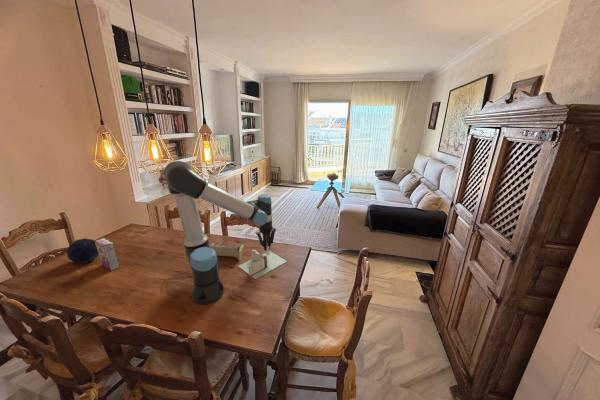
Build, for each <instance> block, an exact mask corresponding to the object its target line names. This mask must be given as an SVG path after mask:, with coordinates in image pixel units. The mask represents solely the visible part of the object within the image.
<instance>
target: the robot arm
mask: <svg viewBox="0 0 600 400" xmlns="http://www.w3.org/2000/svg"><path fill="white" fill-rule="evenodd" d="M163 175H164V178H165V181H166V185H167V188H168V191H169V194H170V195H172V196H174V200H175V203H176V207H177V211H178V215H179V218H180V222H181V226H182V229H183V233H184V236H185V239H184V241H183V245H184V249H185V251H184V253H185V255H186V257H187V259H188V263H189V266H190V268H191V273H192V274H191V275H192V279H193V286H192V289H191V299H192V301H193V302H194V303H195V304H199V305H209V304H212V303H214V302H216V301H218V300H219V299H221V298H222V296H223V295H224V293H225V285H224V283H223V282H222V280H221V278H220V276H219V275H220V274H219V266H218V256H217V255H216V252H215V251H214V250H213V249H212V248H210V245H209V244H210V241H209V237H208V235H207V234H205V233H204V229H203V225H202V222H201V216H200V213H199V208H198V204H197V201H196V200H198V199H201V200H203V201H206V202H207V203H210V204H213V205H214V206H215V207H216V206H217V207H219V208H221V209H223V210H226V211H228V212H230V213H233V214H235V215H237V216H239V217H242V218H243V219H246V220H248V221H250V222H252V223H253V224H254V225H256V226H258V227H259V231H258V232H255V234H256V235H257V238H258V241H259V244H260V245H261V246H262V247H263V250H264V253H265V254H266V255H267V256H268V255H269V251H270V250H271V246H272V244H273V243H274V239H275V234H276V232H277V228H275V227H273V213H272V197H271V195H269V194H267V193H264V194H260V195H258V196H257V199H254V200H250V201H245V200H243V199H241V198H240V197H237V196H235V195H232V194H231V193H229V192H227V191H225V190H223V189H221V188H219V187H217V186H215V185H213V184H211V183H209V182H208V179H206V178H204V177H202V176H201V175H199V174H198V172H196V171H195V170H194V169H193V168H191V166H190V165H189V164H188V163H186V162H184V161H181V160H174V161H170V162H169V163H168V164H167V165H166V166H165V168H164V170H163Z"/></svg>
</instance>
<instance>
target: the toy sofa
mask: <svg viewBox="0 0 600 400" xmlns="http://www.w3.org/2000/svg"><path fill="white" fill-rule="evenodd" d="M209 245H210V248H212V249H213V250H214V251H215V252H216V255H217V257H218V256H220V257H234V258H236V259H237V260H238V261H241V259H242V258H243V257H242V256H244V247H245V246H244V244H243V243H242V244H241V245H240V246H239V245H224V244H223V245H222V244H221V245H220V244H215V243H213V242H212V243H209Z"/></svg>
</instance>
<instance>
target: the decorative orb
mask: <svg viewBox="0 0 600 400" xmlns="http://www.w3.org/2000/svg"><path fill="white" fill-rule="evenodd" d="M95 241H96V240H95V239H90V238H80V239H75V240H74V241H73V242H72V243H71V244H69V246H68V249H67V250H66V254H67V258H68V259H69V260H70V261H72V262H73V263H74V264H75V263H77V264H86V263H90V262H92V261H93V260H94V259H96V258H97V257H98V256H99V253H98V250H97V247H96V244H95ZM89 261H90V262H89Z"/></svg>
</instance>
